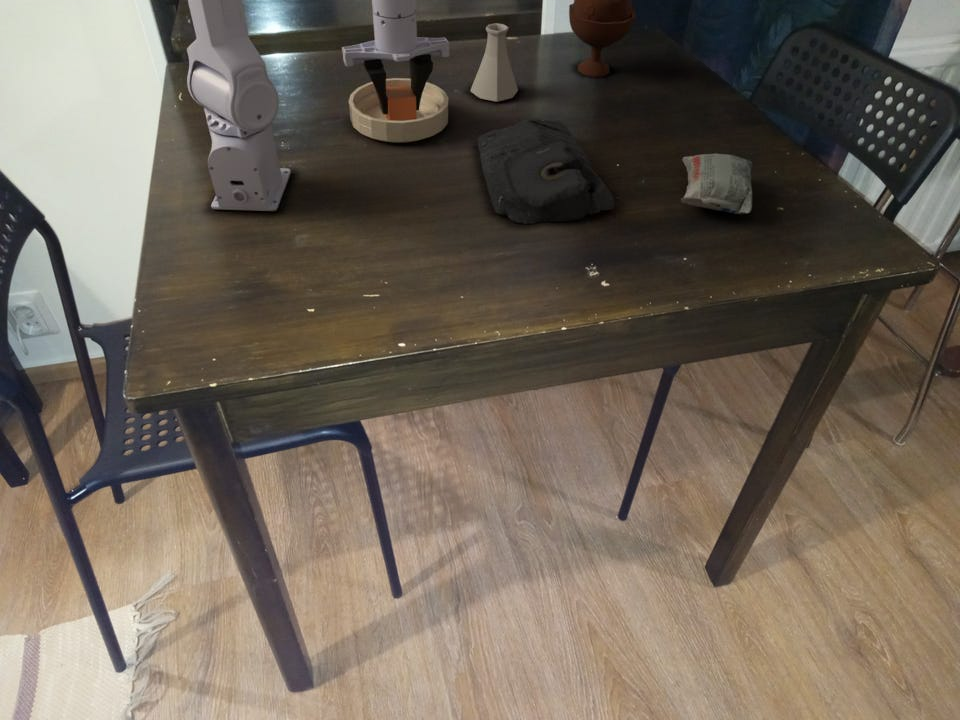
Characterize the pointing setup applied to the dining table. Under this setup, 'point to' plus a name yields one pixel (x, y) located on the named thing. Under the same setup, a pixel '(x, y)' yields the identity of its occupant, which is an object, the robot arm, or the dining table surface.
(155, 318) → the dining table surface
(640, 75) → the dining table surface
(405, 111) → the block
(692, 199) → the packaged food
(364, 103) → the bowl
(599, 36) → the ice cream bowl
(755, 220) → the dining table surface
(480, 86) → the flask
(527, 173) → the dark slate chunk
